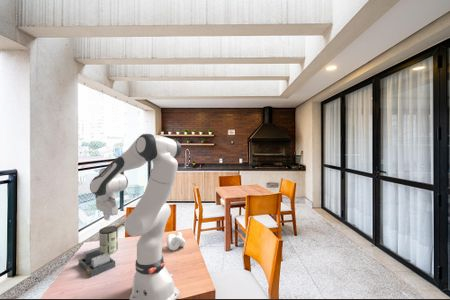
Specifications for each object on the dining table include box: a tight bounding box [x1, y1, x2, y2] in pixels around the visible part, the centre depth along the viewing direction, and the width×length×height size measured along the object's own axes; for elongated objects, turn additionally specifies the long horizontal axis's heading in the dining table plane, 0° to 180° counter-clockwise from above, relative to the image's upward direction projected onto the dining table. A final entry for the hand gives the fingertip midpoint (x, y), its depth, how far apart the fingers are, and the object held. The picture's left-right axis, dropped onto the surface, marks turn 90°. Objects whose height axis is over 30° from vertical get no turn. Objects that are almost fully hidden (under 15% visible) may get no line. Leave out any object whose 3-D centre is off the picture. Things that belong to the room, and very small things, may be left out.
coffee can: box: [99, 225, 119, 255], centre depth 132 cm, size 10×10×14 cm
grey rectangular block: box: [92, 253, 111, 270], centre depth 112 cm, size 3×8×6 cm, turn 142°
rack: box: [78, 246, 116, 278], centre depth 115 cm, size 18×12×7 cm
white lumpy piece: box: [166, 231, 186, 251], centre depth 138 cm, size 11×12×9 cm
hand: (106, 219), depth 120 cm, fingers closed
